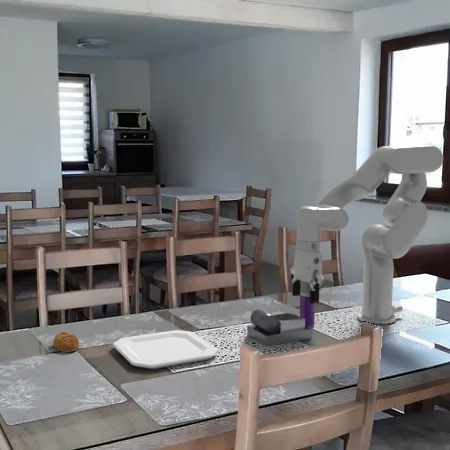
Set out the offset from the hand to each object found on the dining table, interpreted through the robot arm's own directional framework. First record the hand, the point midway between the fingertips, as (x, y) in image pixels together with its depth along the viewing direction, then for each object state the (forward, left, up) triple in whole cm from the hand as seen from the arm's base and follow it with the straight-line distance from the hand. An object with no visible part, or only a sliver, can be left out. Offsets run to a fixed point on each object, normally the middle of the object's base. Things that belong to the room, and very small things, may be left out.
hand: (305, 299), depth 195 cm
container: (-1, 0, -9) cm, 9 cm away
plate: (+49, +4, -9) cm, 50 cm away
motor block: (+13, +6, -9) cm, 17 cm away
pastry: (+73, -12, -9) cm, 74 cm away
